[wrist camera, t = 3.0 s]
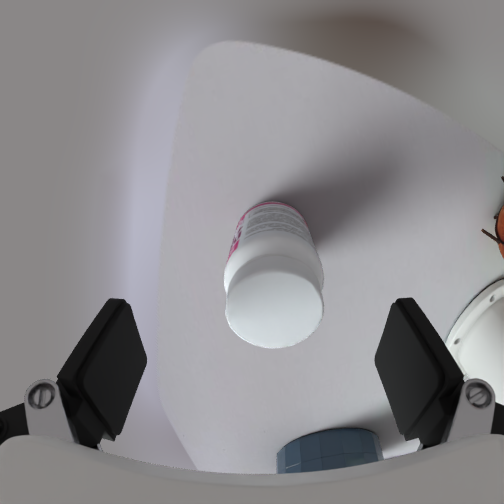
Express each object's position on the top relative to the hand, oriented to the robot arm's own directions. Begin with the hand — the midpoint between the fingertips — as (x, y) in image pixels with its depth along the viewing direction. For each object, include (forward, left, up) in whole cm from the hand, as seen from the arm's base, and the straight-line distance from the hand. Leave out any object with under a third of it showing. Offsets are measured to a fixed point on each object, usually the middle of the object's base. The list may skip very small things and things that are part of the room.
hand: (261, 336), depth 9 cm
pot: (-10, +32, -10) cm, 35 cm away
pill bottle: (-1, 0, -10) cm, 10 cm away
